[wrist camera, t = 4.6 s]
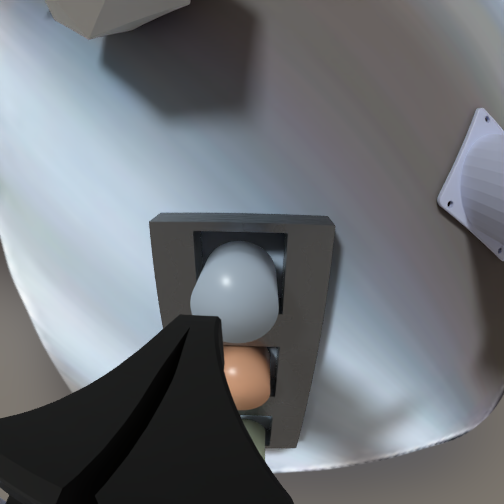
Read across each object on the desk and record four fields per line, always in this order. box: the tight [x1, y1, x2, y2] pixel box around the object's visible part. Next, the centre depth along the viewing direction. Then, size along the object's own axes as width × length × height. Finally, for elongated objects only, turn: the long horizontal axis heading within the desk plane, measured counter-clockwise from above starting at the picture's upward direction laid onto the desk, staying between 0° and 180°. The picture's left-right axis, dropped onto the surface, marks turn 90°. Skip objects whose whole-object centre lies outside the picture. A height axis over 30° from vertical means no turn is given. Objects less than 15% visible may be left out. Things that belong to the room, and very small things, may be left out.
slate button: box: [190, 241, 279, 343], centre depth 15 cm, size 4×4×4 cm
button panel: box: [149, 213, 335, 448], centre depth 20 cm, size 21×10×2 cm, turn 179°
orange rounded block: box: [223, 345, 270, 410], centre depth 19 cm, size 4×4×4 cm
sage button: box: [241, 418, 265, 461], centre depth 20 cm, size 4×4×4 cm
